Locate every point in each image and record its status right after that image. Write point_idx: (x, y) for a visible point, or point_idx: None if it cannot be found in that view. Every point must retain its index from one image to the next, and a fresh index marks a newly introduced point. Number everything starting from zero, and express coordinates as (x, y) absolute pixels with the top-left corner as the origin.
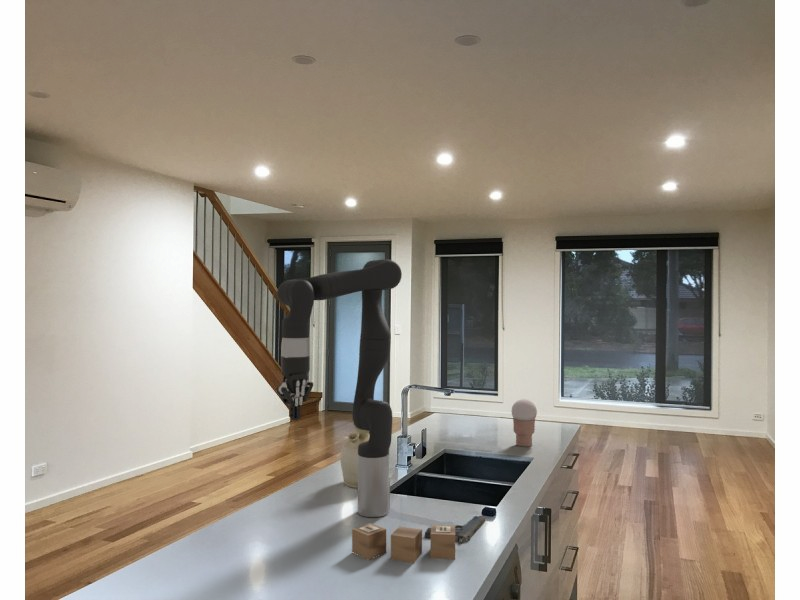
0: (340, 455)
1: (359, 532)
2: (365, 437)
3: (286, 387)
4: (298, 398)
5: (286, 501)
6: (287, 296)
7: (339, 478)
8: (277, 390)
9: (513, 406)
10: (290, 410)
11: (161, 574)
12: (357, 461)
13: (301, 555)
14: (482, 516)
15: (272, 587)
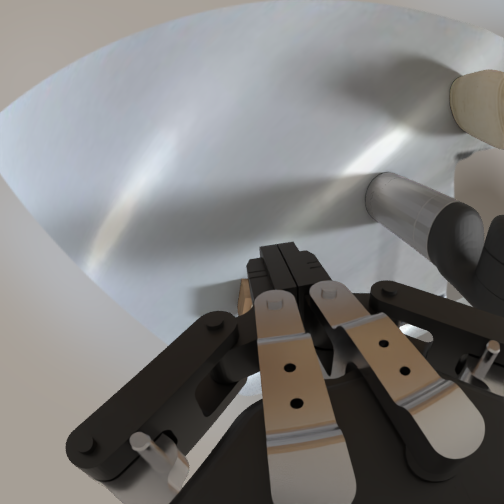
0: (485, 75)
1: (242, 311)
2: None
3: (174, 487)
4: (322, 368)
5: (348, 34)
6: None
7: (464, 60)
8: (79, 438)
9: None
10: (252, 290)
11: (30, 145)
12: (481, 118)
13: (185, 232)
14: (407, 323)
15: (105, 276)
